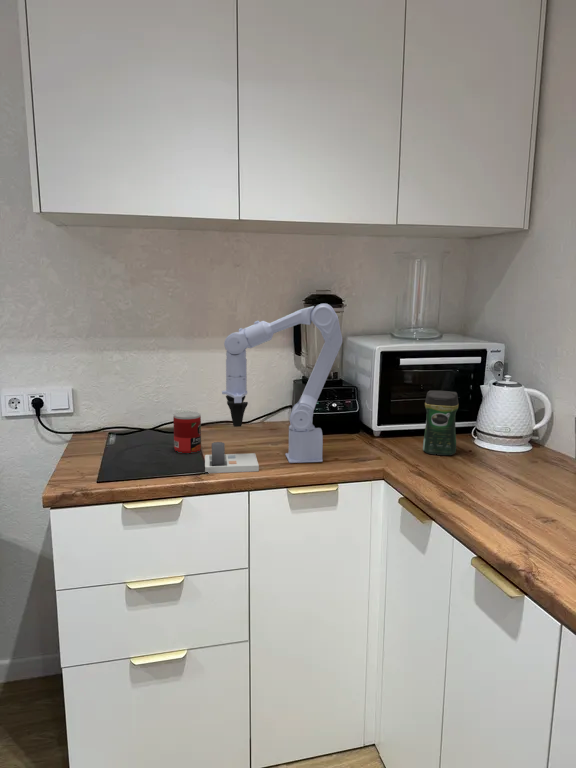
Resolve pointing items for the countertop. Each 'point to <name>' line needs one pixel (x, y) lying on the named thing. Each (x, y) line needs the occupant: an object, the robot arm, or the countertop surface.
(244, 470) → the socket board
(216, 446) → the plug
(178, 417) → the canned food
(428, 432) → the coffee jar
